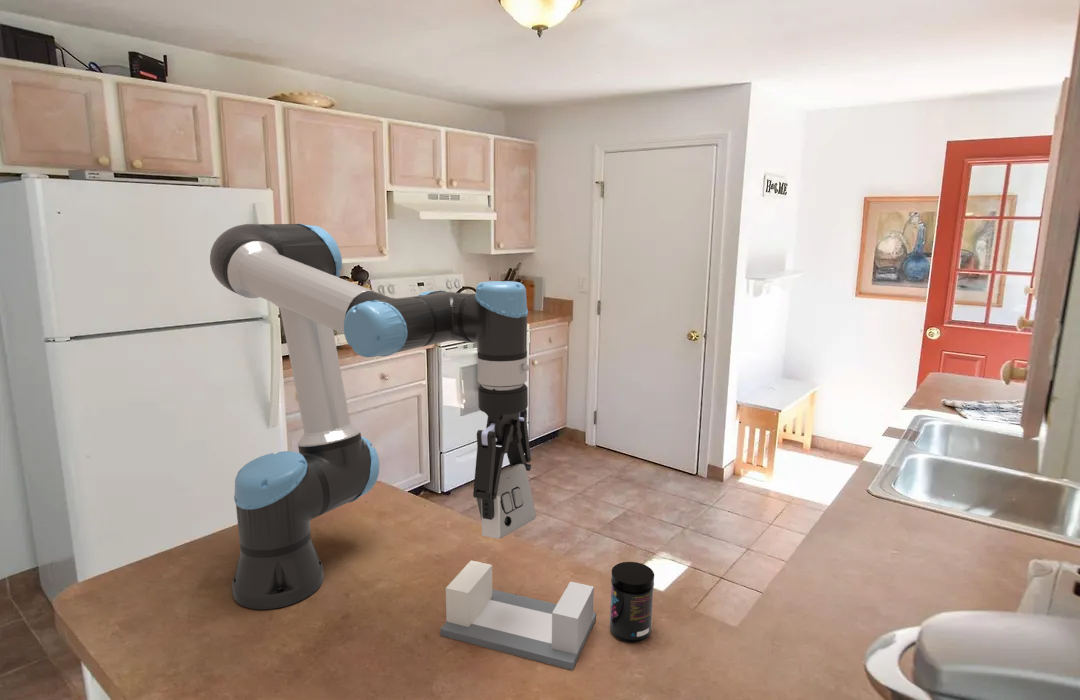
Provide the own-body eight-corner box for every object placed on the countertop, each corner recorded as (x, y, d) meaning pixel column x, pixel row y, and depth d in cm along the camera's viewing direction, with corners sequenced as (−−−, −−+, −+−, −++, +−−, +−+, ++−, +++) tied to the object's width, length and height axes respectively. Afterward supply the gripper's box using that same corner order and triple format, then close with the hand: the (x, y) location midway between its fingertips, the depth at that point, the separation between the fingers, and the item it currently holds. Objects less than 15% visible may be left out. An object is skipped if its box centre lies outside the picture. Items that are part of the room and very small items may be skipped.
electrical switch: (498, 542, 94) (493, 482, 93) (473, 534, 97) (468, 477, 96) (537, 519, 101) (533, 464, 100) (513, 513, 104) (509, 460, 103)
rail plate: (440, 635, 99) (439, 594, 98) (476, 591, 111) (476, 554, 110) (572, 670, 92) (573, 626, 90) (595, 619, 104) (597, 580, 102)
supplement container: (630, 613, 106) (632, 557, 103) (660, 634, 100) (663, 575, 98) (600, 628, 102) (602, 570, 100) (630, 651, 96) (632, 589, 94)
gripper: (494, 405, 83) (497, 559, 87) (550, 370, 103) (550, 497, 108) (445, 400, 86) (449, 550, 90) (509, 367, 106) (510, 491, 110)
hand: (504, 521), depth 99 cm, fingers closed on electrical switch, 9 cm apart
